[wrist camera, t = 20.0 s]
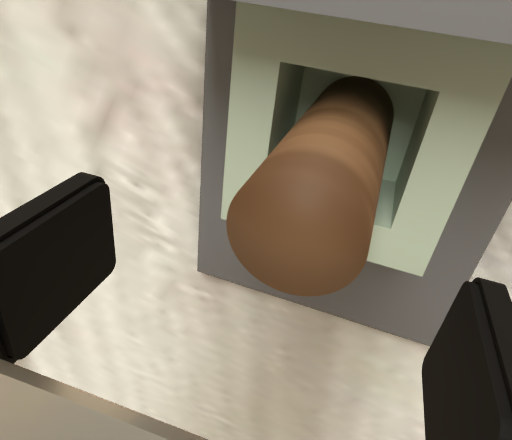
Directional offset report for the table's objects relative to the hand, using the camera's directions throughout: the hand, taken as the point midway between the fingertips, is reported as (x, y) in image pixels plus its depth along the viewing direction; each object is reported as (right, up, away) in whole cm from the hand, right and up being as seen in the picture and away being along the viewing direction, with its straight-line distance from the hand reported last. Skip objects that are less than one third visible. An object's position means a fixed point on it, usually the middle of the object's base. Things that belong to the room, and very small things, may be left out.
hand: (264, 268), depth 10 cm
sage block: (+5, +7, +11) cm, 14 cm away
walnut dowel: (+5, +7, +10) cm, 13 cm away
